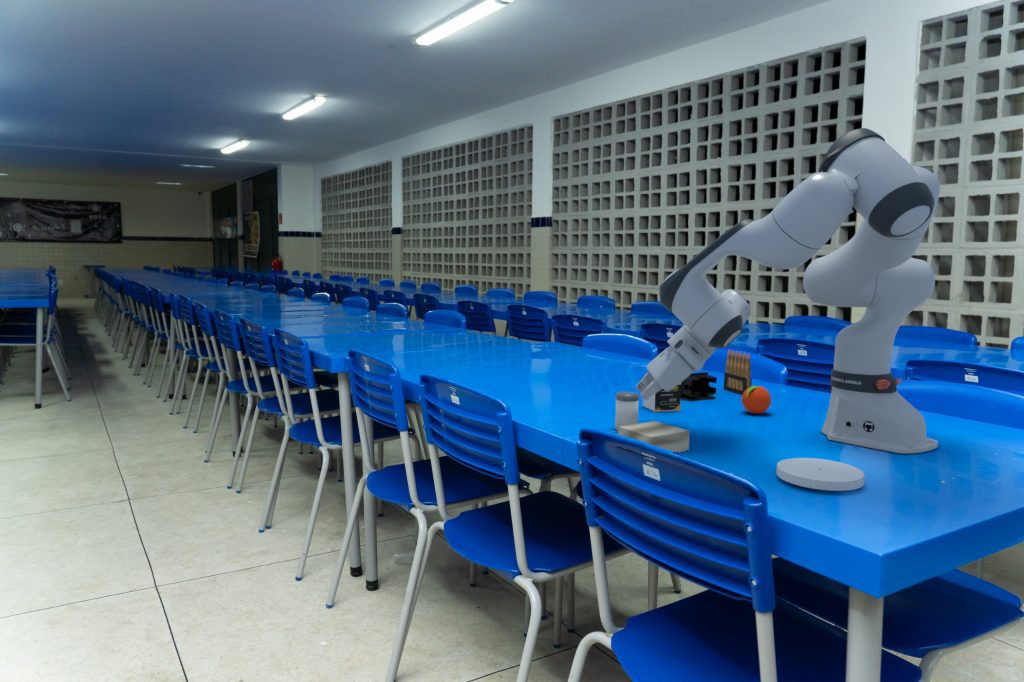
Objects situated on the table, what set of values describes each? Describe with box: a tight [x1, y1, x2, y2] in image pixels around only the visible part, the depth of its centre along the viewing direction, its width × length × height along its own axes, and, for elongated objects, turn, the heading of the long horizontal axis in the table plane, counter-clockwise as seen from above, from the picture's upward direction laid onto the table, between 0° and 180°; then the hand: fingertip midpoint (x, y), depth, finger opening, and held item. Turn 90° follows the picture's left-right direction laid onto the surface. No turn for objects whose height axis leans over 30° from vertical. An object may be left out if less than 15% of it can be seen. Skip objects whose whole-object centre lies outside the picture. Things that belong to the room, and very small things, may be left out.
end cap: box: [681, 371, 718, 402], centre depth 198 cm, size 10×7×7 cm
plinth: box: [617, 420, 690, 454], centre depth 147 cm, size 10×10×4 cm
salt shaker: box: [614, 391, 640, 431], centre depth 162 cm, size 5×5×8 cm
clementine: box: [741, 385, 772, 415], centre depth 179 cm, size 8×7×7 cm
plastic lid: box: [775, 457, 865, 492], centre depth 126 cm, size 14×14×2 cm
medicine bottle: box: [642, 382, 682, 413], centre depth 184 cm, size 7×7×12 cm
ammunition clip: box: [723, 348, 753, 396], centre depth 206 cm, size 11×2×12 cm, turn 18°
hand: (640, 393), depth 161 cm, fingers open, 8 cm apart
